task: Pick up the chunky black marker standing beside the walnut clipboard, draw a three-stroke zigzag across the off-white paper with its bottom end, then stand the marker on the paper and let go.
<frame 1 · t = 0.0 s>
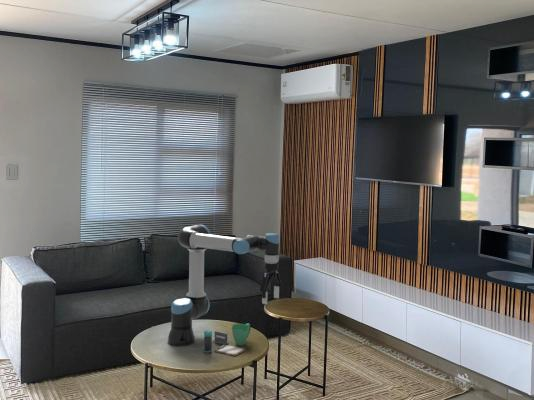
hand: (270, 300, 307), 28 cm above the table, fingers open, 13 cm apart
mug: (242, 342, 322), on the table
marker: (207, 352, 306), on the table
clipboard: (230, 351, 309), on the table
gray bookend: (220, 342, 321), on the table
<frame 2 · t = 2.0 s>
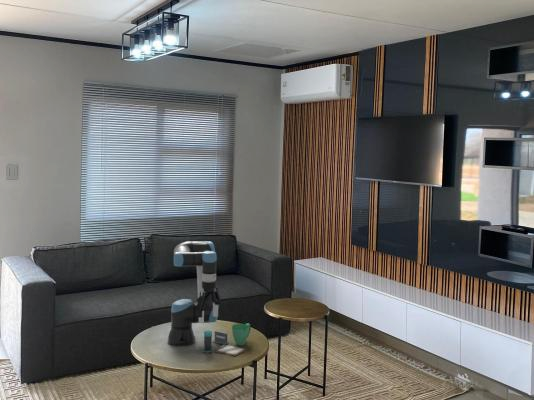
hand: (208, 319, 304), 18 cm above the table, fingers open, 13 cm apart
nothing on the table moved.
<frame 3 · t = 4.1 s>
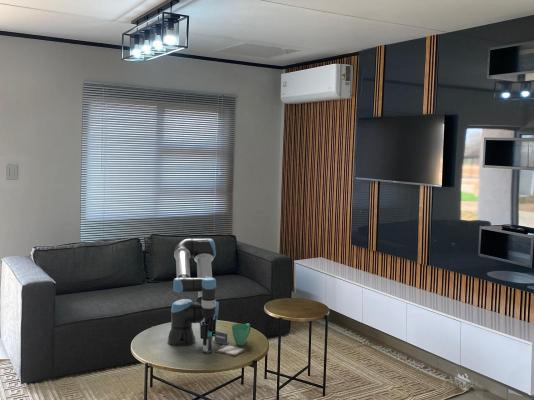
hand: (207, 349, 306), 2 cm above the table, fingers closed on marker, 4 cm apart
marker: (207, 352, 306), on the table, touching gripper
everything else where it was.
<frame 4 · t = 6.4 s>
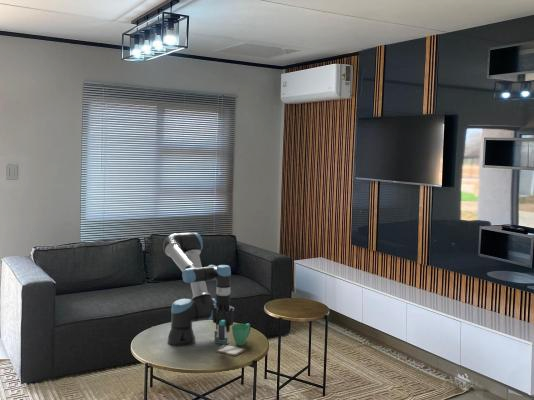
hand: (222, 336, 307), 8 cm above the table, fingers closed on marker, 4 cm apart
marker: (222, 341, 307), point 6 cm above the table, touching gripper
everything else where it was.
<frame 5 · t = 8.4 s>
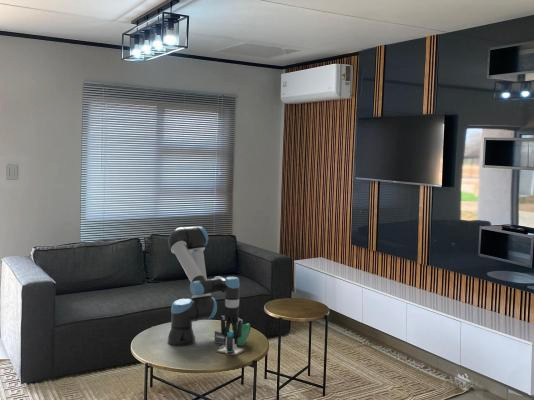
hand: (230, 348, 305), 3 cm above the table, fingers closed on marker, 4 cm apart
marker: (230, 352, 305), point 1 cm above the table, touching clipboard, gripper
everything else where it was.
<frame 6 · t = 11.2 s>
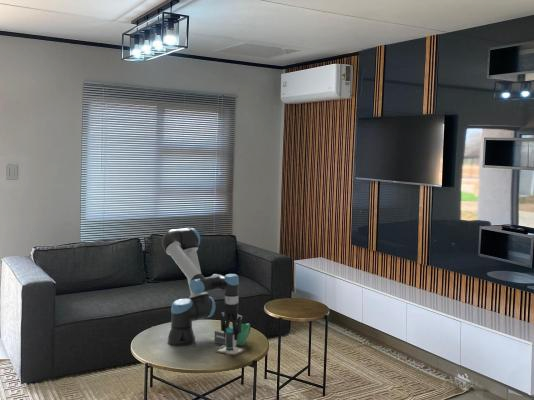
hand: (230, 344, 311), 3 cm above the table, fingers closed on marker, 4 cm apart
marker: (229, 348, 310), point 1 cm above the table, touching gripper
everything else where it was.
when the fingers open (3 cm above the table, at t = 12.9 s): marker stays where it is, resting on clipboard.
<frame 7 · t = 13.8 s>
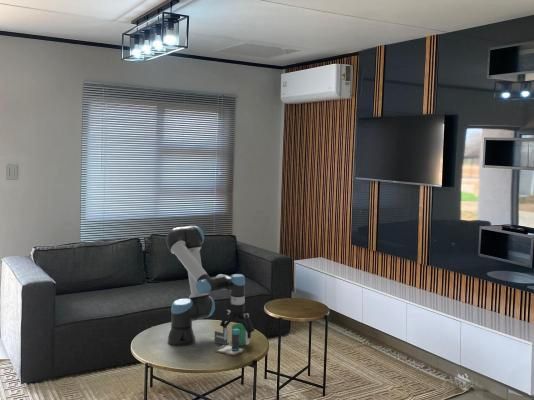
hand: (236, 341, 309), 5 cm above the table, fingers open, 13 cm apart
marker: (235, 350, 308), point 1 cm above the table, touching clipboard
everything else where it was.
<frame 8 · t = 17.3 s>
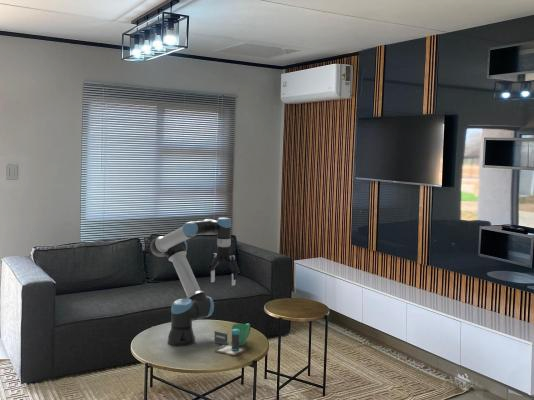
hand: (223, 283, 315), 35 cm above the table, fingers open, 13 cm apart
nothing on the table moved.
at the end: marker inside the target area on the clipboard (2.6 cm from its centre), point 0.8 cm above the clipboard's base; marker tilted 0°; the gripper is holding nothing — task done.
